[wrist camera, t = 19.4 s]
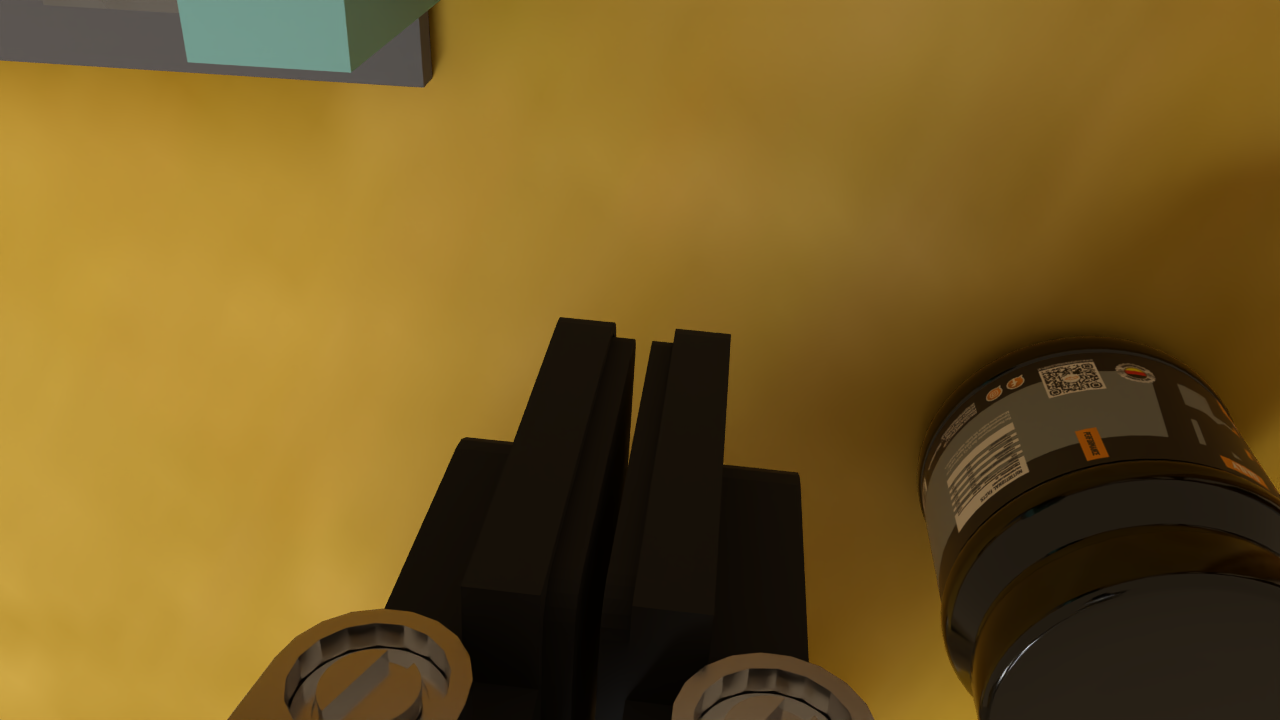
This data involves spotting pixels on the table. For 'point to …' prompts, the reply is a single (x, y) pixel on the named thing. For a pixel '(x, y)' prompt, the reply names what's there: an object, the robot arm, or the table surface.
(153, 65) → the base plate
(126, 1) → the bracket
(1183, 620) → the supplement container
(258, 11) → the spacer
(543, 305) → the table surface
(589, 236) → the table surface
